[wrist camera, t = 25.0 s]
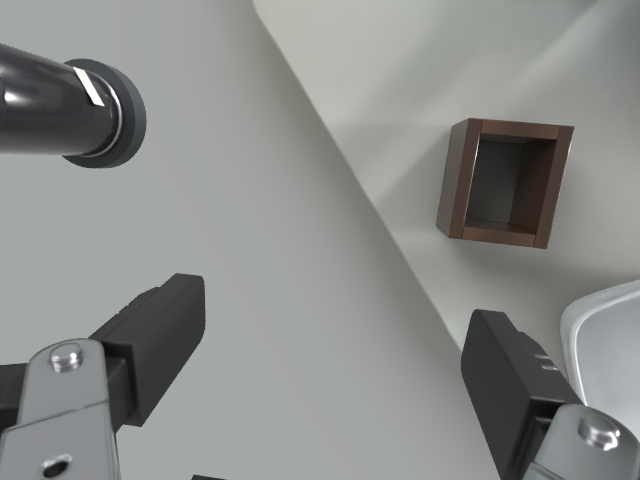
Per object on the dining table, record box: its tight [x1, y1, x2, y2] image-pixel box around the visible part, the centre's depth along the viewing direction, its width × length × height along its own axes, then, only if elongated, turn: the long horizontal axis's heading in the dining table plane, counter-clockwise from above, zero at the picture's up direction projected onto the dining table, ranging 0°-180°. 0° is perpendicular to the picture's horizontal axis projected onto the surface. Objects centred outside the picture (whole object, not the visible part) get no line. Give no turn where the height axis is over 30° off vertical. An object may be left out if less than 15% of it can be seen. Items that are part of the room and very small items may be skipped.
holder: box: [436, 118, 575, 249], centre depth 37 cm, size 9×11×7 cm
